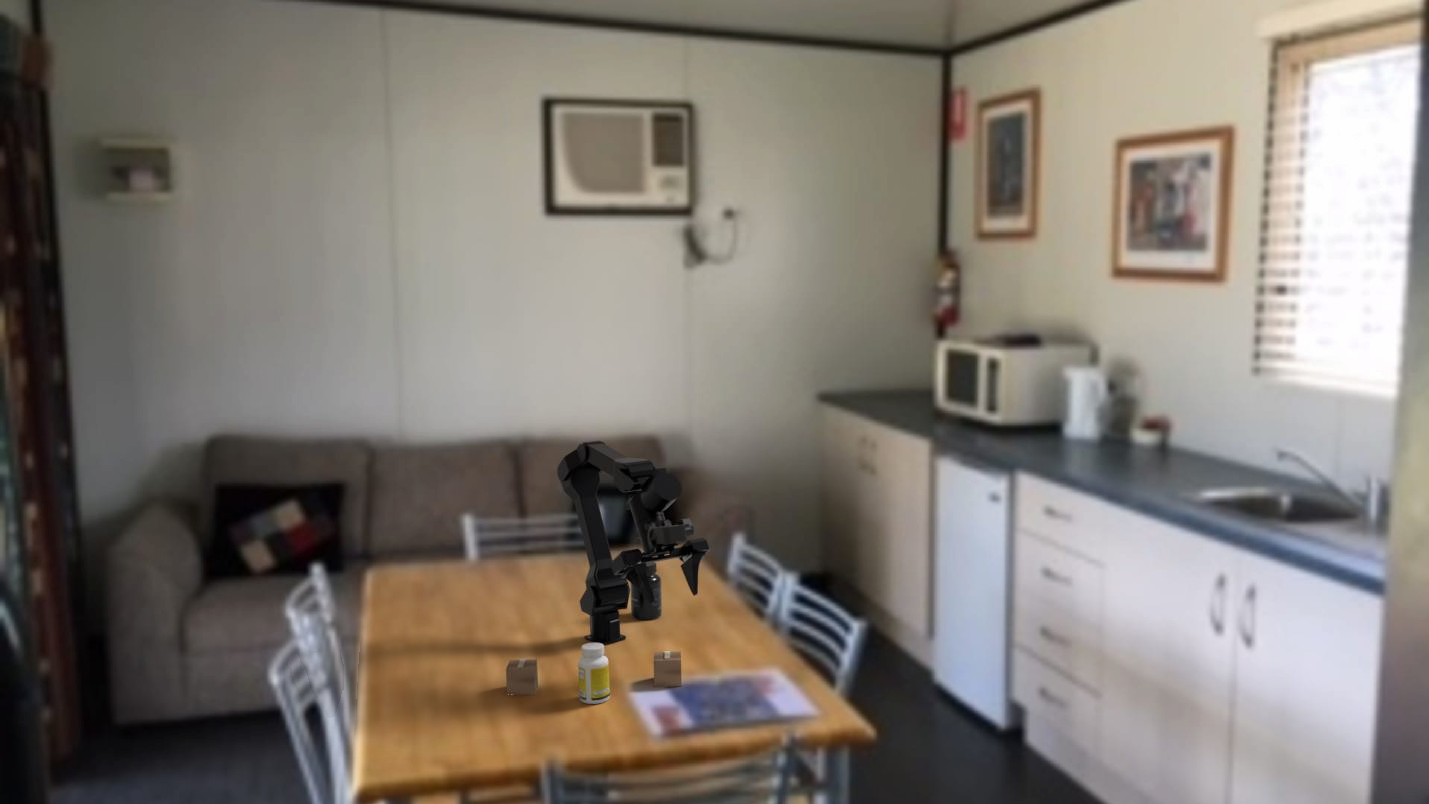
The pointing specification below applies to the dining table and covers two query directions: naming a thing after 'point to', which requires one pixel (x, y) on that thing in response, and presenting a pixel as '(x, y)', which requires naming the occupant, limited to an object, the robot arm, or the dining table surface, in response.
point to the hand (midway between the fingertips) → (674, 599)
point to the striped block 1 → (522, 677)
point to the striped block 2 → (667, 669)
